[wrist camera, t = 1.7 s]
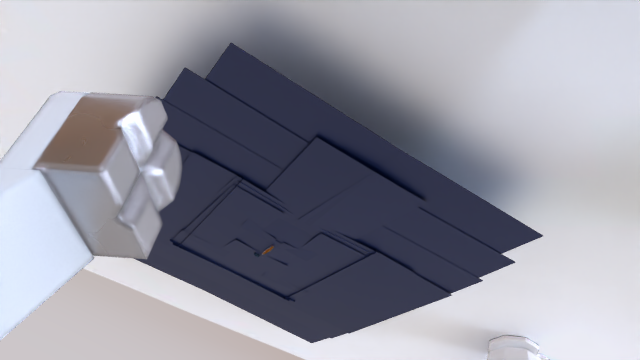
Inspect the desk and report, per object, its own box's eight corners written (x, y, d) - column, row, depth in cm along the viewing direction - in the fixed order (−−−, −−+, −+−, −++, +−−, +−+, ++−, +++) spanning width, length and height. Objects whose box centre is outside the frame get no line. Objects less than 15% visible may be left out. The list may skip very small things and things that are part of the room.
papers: (567, 212, 36) (566, 263, 34) (321, 318, 59) (312, 353, 57) (215, -16, 29) (187, 32, 27) (91, 206, 52) (71, 241, 50)
